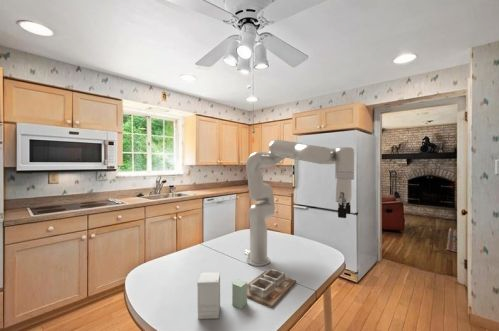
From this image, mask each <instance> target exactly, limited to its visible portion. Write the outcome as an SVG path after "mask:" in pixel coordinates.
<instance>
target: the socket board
mask: <svg viewBox="0 0 499 331" xmlns="http://www.w3.org/2000/svg"><path fill="white" fill-rule="evenodd" d="M296 284H297V280H295V279H292V278H290V277H286V272H283V271H280V270H276V269H273V268H270V269H268V270H265V271H263V272H262V273H260V274H259V275H257V276H256V277H255V278H254V279H252V280H251V281H250V282H247V299H249V300H252V301H253V302H256V303H259V304H261V305H264V306H265V307H266V306H267V307H269V308H271V309H272V308H273V307H275V305H277V303H278V302H279V301H281V299H282V298H283V297H285V295H286V294H287V293H288V292H289V291H290V290H291V289H292V288H293V287H294V286H295V285H296Z"/></svg>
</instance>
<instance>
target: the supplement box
mask: <svg viewBox="0 0 499 331" xmlns="http://www.w3.org/2000/svg"><path fill="white" fill-rule="evenodd" d="M220 310H221V272H218V271H217V272H201V273H200V275H199V278H198V281H197V319H198V320H200V319H201V320H203V319H205V320H206V319H210V320H211V319H219V318H220V312H221V311H220Z"/></svg>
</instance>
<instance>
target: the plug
mask: <svg viewBox="0 0 499 331" xmlns="http://www.w3.org/2000/svg"><path fill="white" fill-rule="evenodd" d="M247 284H248V282H246V281H244V280H242V279H237V280H236V281H235V282H233V283H232V286H231V288H232V294H231V295H232V296H231V297H232V300H231V302H232V304H231V305H232V306H233V307H236V308H238V309H241V310H242V309H243V308H244V307H245V306H246V305H247V304H248V298H247Z"/></svg>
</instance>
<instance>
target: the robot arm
mask: <svg viewBox="0 0 499 331" xmlns="http://www.w3.org/2000/svg"><path fill="white" fill-rule="evenodd" d="M268 150H269V152H265V151H255V152H253V153H251V154H250V155H249V156H248V157H247V159H246V163H245V167H246V168H245V169H246V170H245V171H246V175H247V183H248V184H247V185H248V186H247V187H248V196H249V198H250V200H251V201H253V202H258V203H254V204H252V205H251V206H250V207H249V208H248V211H247V213H248V214H247V216H248V221H249V250H248V249H245V252H244V255H245V256H247V259H246V262H247V263H248V264H249V265H251V266H253V267H263V266H268V265H269V264H270V263H271V259H270V257H269V256H268V226H267V222H266V220H268V219H271V218H272V217H273V216H274V215H275V211H276V210H275V209H276V206H275V195H274V190H273V188H272V186H271V185H270V184H269V183H266V182H264V175H263V172H262V171H261V168H272V167H275V166H276V165H278V164H279V163H280V162H282V161H283V160H285V159H290V160H297V161H303V162H307V163H313V164H319V165H334V164H335V166H334V170H335V176H334V177H335V178H334V179H335V180H336V186H335V202H336V203H338V205H337V217H338V218H341V219H346V218H347V214H348V215H351V212H352V211H351V200H352V192H353V191H352V180H353V181H354V180H355V149H354V148H352V147H349V146H348V147H347V146H346V147H345V146H342V147H337V148H330V147H326V146H320V145H319V146H318V145H312V144H307V143H306V144H305V143H302V142H296V141H290V140H283V139H275V140H272V141H270V143H269V145H268Z"/></svg>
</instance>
